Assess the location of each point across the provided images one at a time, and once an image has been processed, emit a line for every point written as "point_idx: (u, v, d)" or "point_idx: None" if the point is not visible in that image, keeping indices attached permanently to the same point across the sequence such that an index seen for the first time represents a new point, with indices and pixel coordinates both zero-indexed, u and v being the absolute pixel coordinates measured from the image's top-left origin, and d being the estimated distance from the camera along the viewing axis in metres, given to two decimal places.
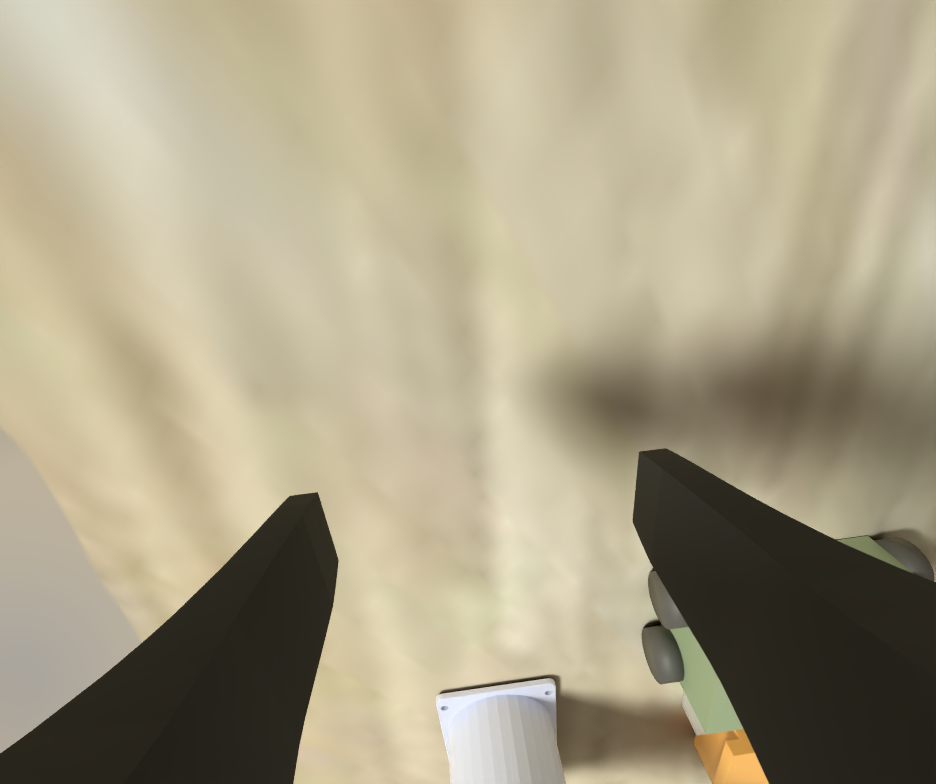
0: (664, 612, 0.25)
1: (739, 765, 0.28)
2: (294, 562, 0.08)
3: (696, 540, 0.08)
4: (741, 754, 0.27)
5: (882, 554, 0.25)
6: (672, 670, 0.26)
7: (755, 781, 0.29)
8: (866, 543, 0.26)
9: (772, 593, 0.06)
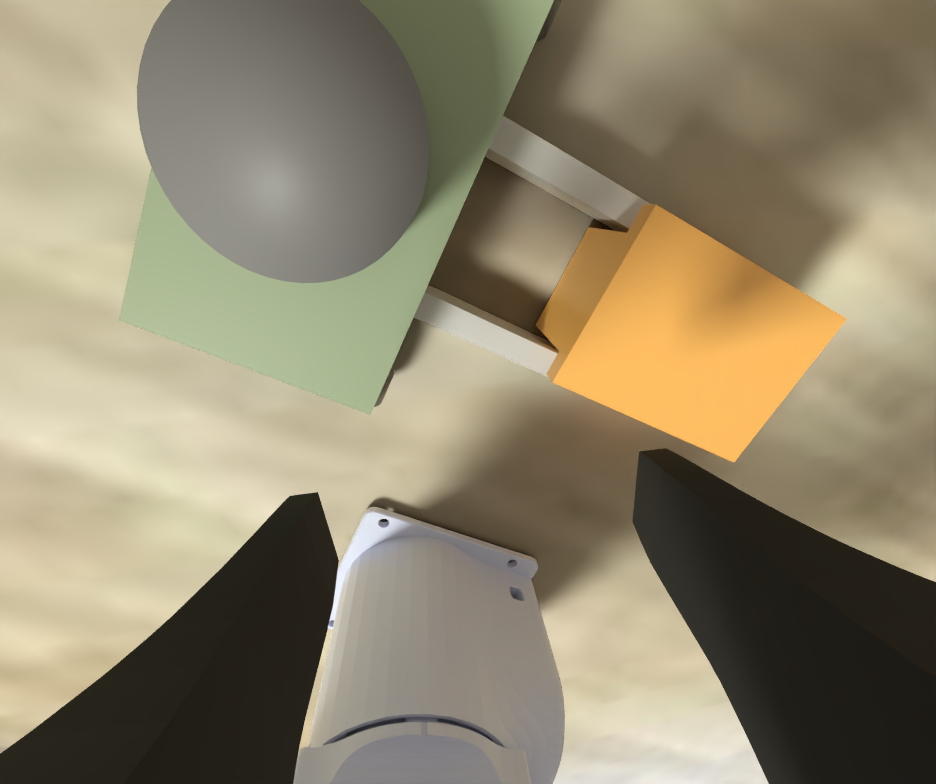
0: None
1: (595, 381, 0.15)
2: (294, 562, 0.08)
3: (696, 540, 0.08)
4: (561, 368, 0.14)
5: None
6: None
7: (679, 370, 0.15)
8: None
9: (772, 593, 0.06)
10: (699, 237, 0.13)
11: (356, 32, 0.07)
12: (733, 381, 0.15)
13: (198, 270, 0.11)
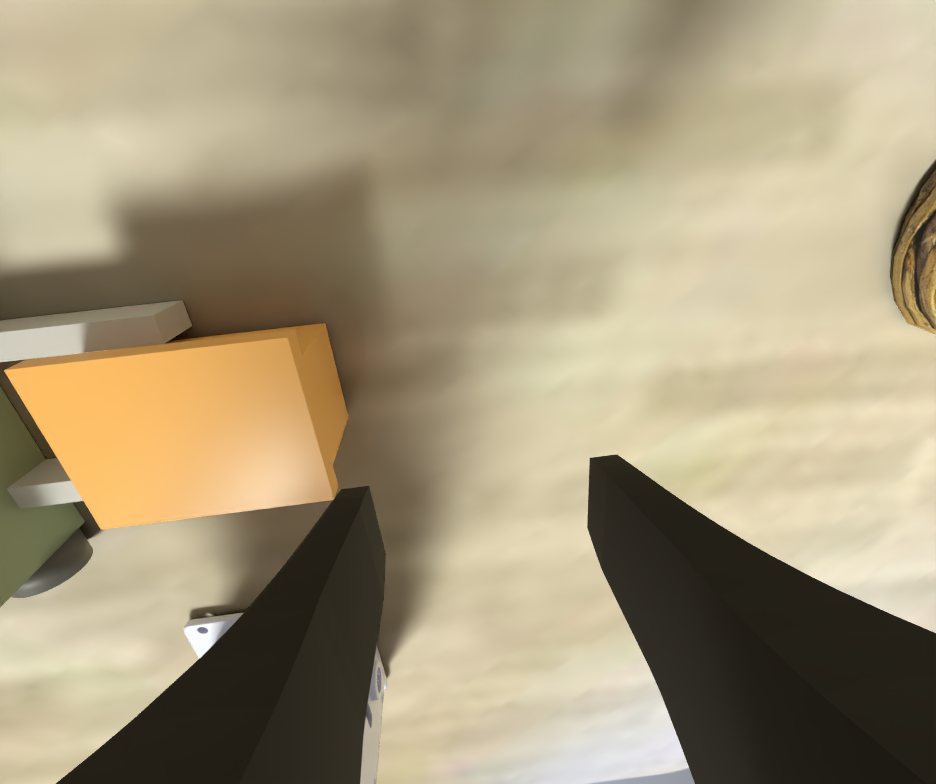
0: None
1: (132, 511, 0.15)
2: (355, 554, 0.08)
3: (636, 548, 0.08)
4: (95, 517, 0.15)
5: None
6: None
7: (189, 465, 0.14)
8: None
9: (696, 603, 0.06)
10: (68, 368, 0.13)
11: None
12: (247, 445, 0.14)
13: None
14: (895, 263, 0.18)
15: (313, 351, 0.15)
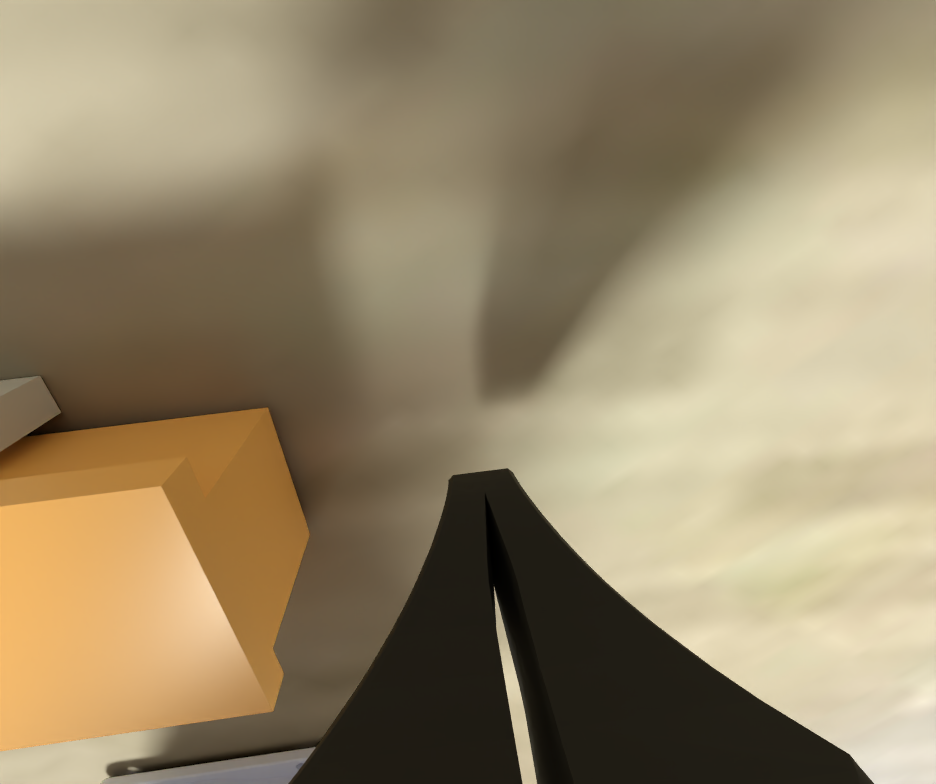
0: None
1: None
2: (487, 537, 0.08)
3: (502, 566, 0.08)
4: None
5: None
6: None
7: (15, 679, 0.08)
8: None
9: (524, 627, 0.06)
10: None
11: None
12: (114, 648, 0.08)
13: None
14: None
15: (237, 470, 0.09)
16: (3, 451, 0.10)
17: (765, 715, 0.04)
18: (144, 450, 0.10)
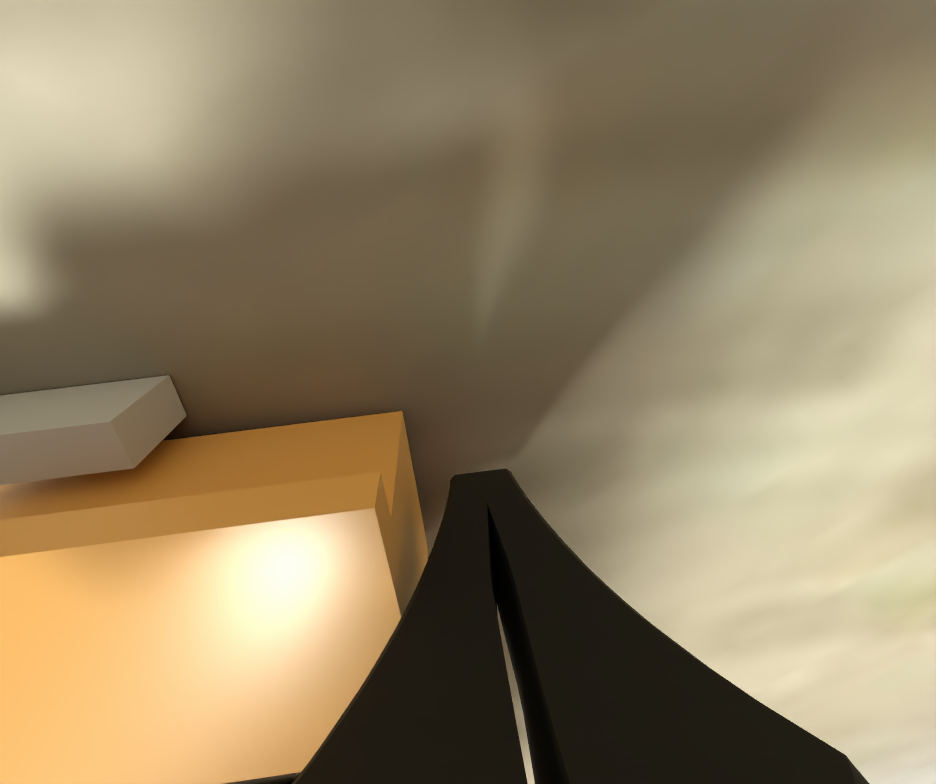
0: None
1: None
2: (489, 536, 0.08)
3: (500, 566, 0.08)
4: None
5: None
6: None
7: (164, 722, 0.07)
8: None
9: (521, 628, 0.06)
10: None
11: None
12: (279, 687, 0.07)
13: None
14: None
15: (398, 484, 0.08)
16: None
17: (761, 716, 0.04)
18: (285, 459, 0.09)
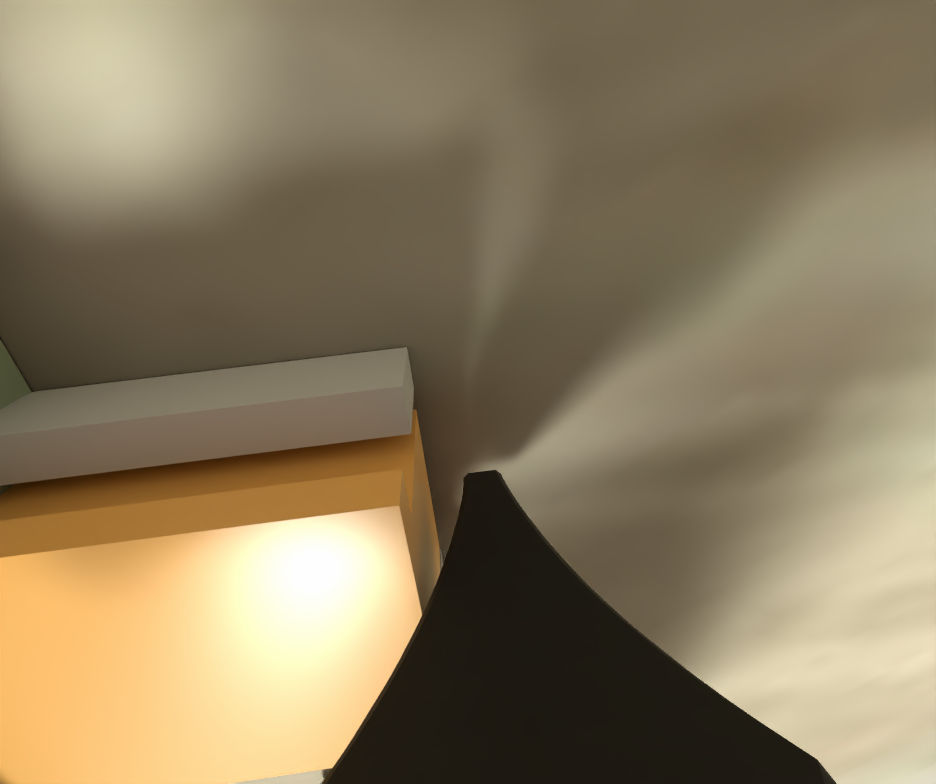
0: None
1: None
2: None
3: None
4: None
5: None
6: None
7: (184, 720, 0.07)
8: None
9: None
10: None
11: None
12: (299, 685, 0.07)
13: None
14: None
15: (415, 482, 0.08)
16: None
17: (736, 719, 0.04)
18: (300, 457, 0.09)
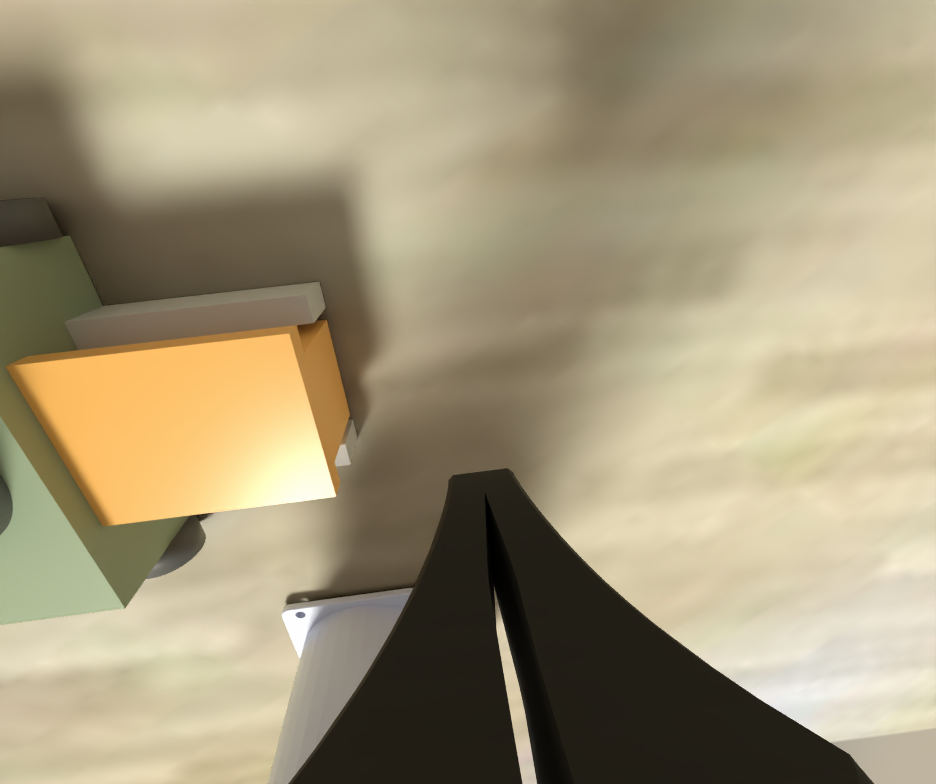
0: None
1: (134, 507, 0.15)
2: (487, 537, 0.08)
3: (501, 566, 0.08)
4: (97, 514, 0.15)
5: None
6: None
7: (191, 462, 0.14)
8: None
9: (524, 627, 0.06)
10: (70, 364, 0.13)
11: None
12: (249, 441, 0.14)
13: None
14: None
15: (315, 347, 0.15)
16: None
17: (764, 715, 0.04)
18: None
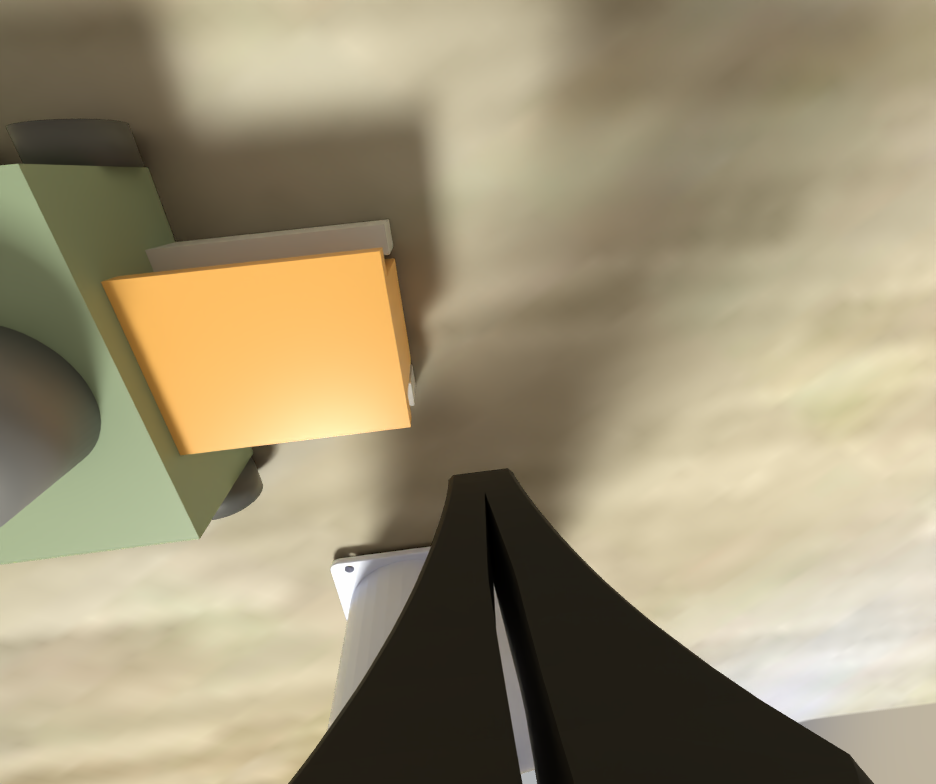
0: None
1: (212, 435, 0.15)
2: (487, 537, 0.08)
3: (502, 566, 0.08)
4: (176, 442, 0.15)
5: None
6: None
7: (272, 387, 0.15)
8: None
9: (524, 627, 0.06)
10: (164, 280, 0.13)
11: None
12: (331, 366, 0.14)
13: None
14: None
15: (391, 278, 0.15)
16: None
17: (765, 715, 0.04)
18: None
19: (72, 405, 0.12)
